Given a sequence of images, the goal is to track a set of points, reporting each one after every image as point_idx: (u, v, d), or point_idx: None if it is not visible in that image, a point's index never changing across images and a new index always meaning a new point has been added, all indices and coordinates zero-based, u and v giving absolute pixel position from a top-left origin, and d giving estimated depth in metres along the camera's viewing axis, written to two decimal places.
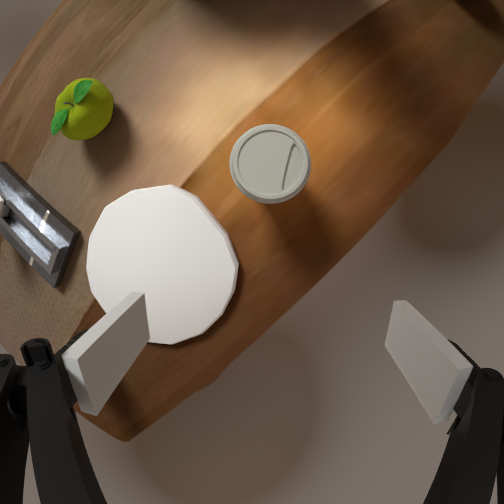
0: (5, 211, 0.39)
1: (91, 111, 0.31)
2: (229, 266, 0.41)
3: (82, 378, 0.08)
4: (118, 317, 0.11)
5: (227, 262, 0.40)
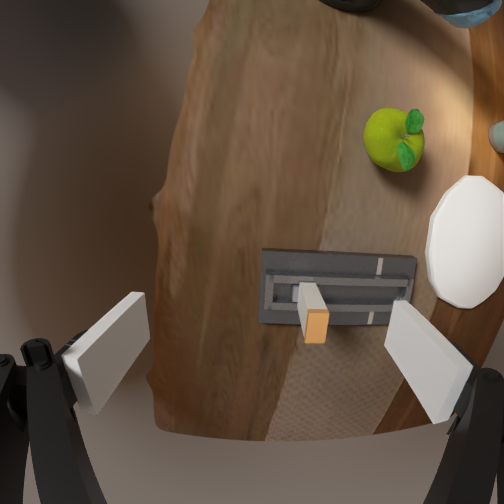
0: None
1: None
2: None
3: (82, 378, 0.08)
4: (118, 317, 0.11)
5: None
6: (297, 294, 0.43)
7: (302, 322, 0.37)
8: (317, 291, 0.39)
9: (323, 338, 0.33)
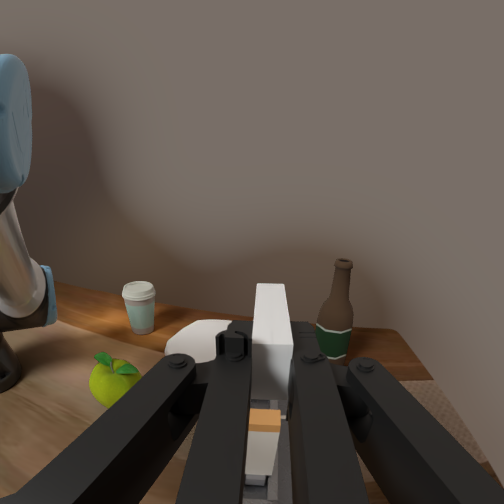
0: None
1: None
2: (197, 321, 0.72)
3: (270, 362, 0.10)
4: (270, 305, 0.13)
5: (195, 322, 0.72)
6: (255, 475, 0.28)
7: (269, 446, 0.27)
8: None
9: (274, 411, 0.28)
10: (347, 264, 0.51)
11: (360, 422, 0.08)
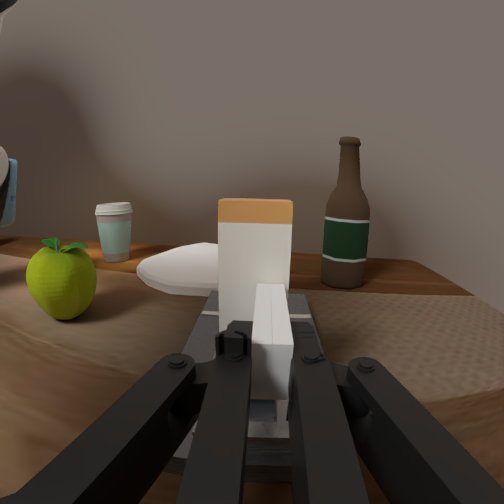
0: None
1: None
2: None
3: (270, 362, 0.10)
4: (270, 305, 0.13)
5: (178, 247, 0.61)
6: None
7: (275, 272, 0.16)
8: None
9: (278, 199, 0.18)
10: (354, 138, 0.41)
11: (360, 422, 0.08)
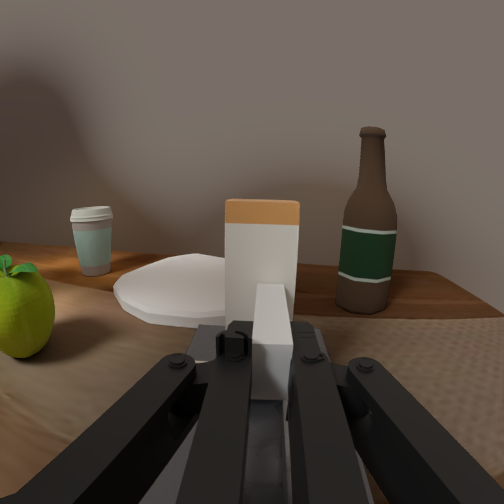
0: None
1: None
2: (168, 258, 0.52)
3: (270, 363, 0.10)
4: (270, 305, 0.13)
5: (165, 259, 0.51)
6: None
7: (282, 272, 0.16)
8: None
9: (285, 200, 0.18)
10: (378, 129, 0.32)
11: (360, 422, 0.08)
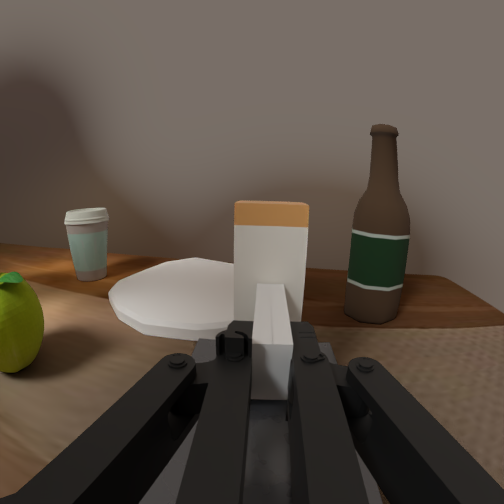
0: None
1: None
2: (166, 262, 0.49)
3: (270, 362, 0.10)
4: (270, 305, 0.13)
5: (164, 263, 0.49)
6: None
7: (291, 274, 0.16)
8: None
9: (293, 202, 0.18)
10: (391, 127, 0.29)
11: (360, 422, 0.08)
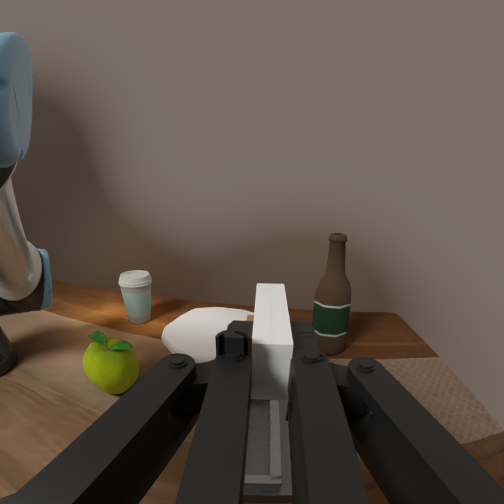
0: None
1: None
2: (194, 309, 0.72)
3: (270, 362, 0.10)
4: (270, 305, 0.13)
5: (192, 310, 0.71)
6: None
7: None
8: None
9: None
10: (341, 237, 0.52)
11: (360, 422, 0.08)
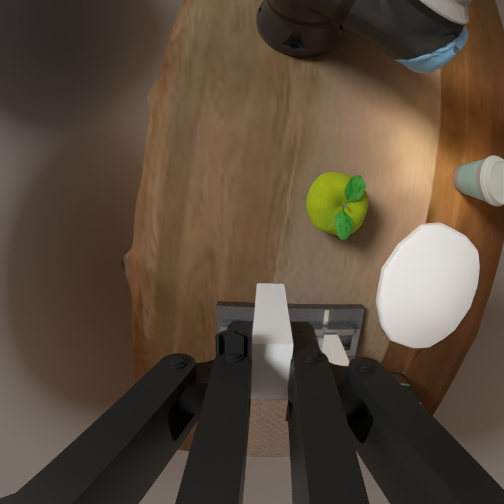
0: None
1: (367, 202, 0.39)
2: (475, 253, 0.45)
3: (270, 362, 0.10)
4: (270, 305, 0.13)
5: (473, 251, 0.45)
6: (322, 344, 0.48)
7: None
8: (340, 345, 0.44)
9: None
10: None
11: (360, 422, 0.08)
